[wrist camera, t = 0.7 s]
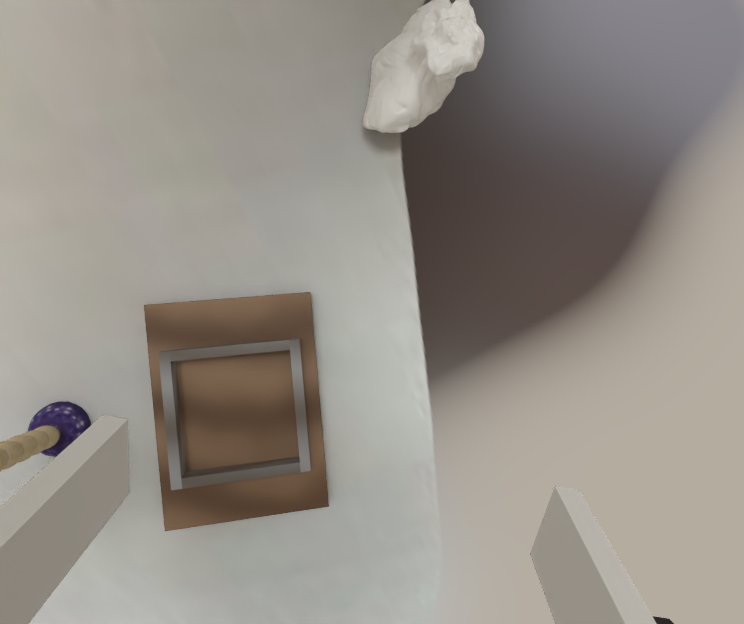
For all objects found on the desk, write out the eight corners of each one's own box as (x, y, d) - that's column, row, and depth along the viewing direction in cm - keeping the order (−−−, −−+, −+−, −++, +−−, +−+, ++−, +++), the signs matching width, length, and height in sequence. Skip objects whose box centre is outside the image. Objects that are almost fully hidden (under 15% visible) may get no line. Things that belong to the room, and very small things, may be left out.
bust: (374, 160, 41) (474, 166, 33) (317, 104, 36) (420, 95, 28) (430, 48, 42) (540, 28, 34) (382, -23, 37) (501, -66, 29)
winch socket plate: (149, 305, 36) (136, 304, 34) (310, 292, 38) (310, 291, 36) (169, 523, 37) (158, 540, 34) (328, 500, 39) (329, 514, 36)
